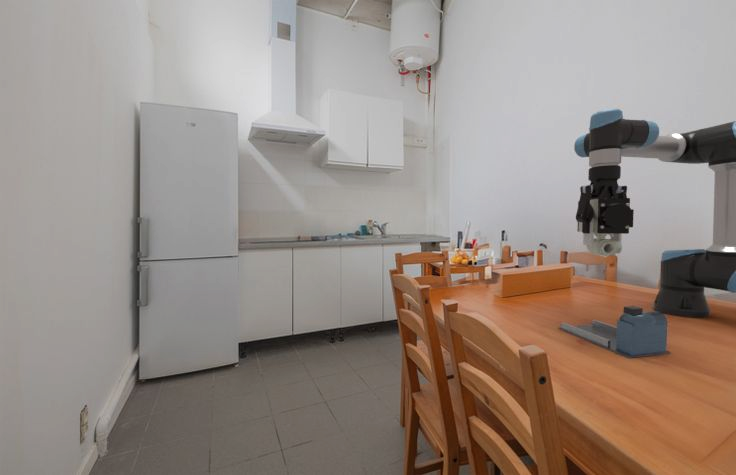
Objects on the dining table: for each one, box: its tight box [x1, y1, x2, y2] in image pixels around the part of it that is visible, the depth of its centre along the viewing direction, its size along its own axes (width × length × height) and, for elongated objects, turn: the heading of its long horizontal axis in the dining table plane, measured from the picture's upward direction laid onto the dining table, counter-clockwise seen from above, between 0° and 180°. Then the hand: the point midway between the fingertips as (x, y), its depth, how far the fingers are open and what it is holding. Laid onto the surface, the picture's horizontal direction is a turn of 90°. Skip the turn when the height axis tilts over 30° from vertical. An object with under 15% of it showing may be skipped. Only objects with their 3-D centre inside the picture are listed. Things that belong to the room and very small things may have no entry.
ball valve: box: [575, 197, 635, 257], centre depth 95 cm, size 18×8×18 cm, turn 169°
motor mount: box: [557, 305, 671, 359], centre depth 94 cm, size 13×23×12 cm, turn 12°
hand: (602, 244), depth 96 cm, fingers closed on ball valve, 9 cm apart
